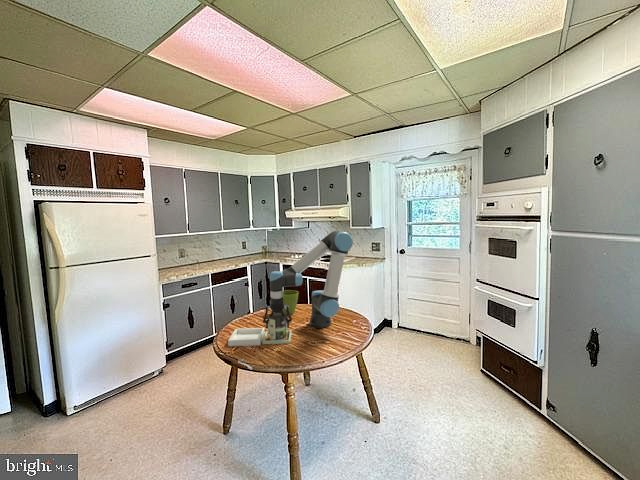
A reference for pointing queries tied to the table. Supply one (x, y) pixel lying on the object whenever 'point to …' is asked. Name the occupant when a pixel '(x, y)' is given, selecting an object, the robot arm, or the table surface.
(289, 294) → the flower pot
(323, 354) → the table surface
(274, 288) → the robot arm
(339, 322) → the table surface
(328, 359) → the table surface
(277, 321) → the coffee can
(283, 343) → the frame
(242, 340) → the bin
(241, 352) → the table surface
